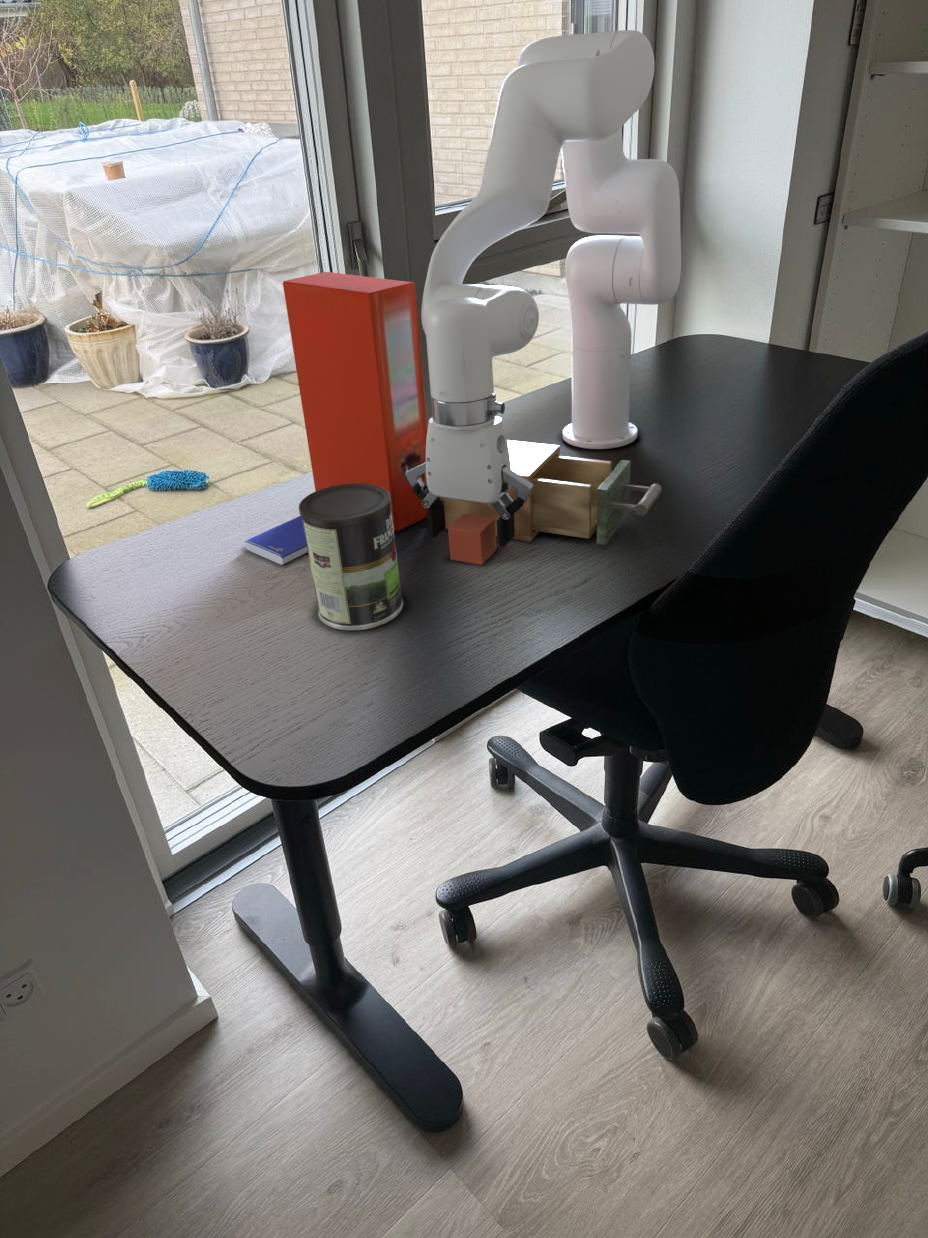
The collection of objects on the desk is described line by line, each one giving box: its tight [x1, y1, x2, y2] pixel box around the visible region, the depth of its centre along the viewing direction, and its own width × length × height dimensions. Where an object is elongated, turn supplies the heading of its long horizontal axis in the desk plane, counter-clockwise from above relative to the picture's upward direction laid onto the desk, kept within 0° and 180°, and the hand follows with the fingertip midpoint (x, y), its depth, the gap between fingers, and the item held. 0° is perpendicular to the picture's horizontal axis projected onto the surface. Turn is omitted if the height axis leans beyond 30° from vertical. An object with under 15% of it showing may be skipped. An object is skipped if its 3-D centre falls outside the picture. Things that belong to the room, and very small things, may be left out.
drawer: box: [530, 455, 663, 546], centre depth 116 cm, size 19×10×8 cm, turn 64°
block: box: [447, 514, 498, 566], centre depth 113 cm, size 5×5×5 cm
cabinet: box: [425, 439, 561, 542], centre depth 121 cm, size 15×11×9 cm
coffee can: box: [298, 483, 404, 632], centre depth 101 cm, size 10×10×14 cm
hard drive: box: [244, 515, 308, 566], centre depth 121 cm, size 2×8×12 cm
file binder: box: [282, 271, 428, 532], centre depth 121 cm, size 8×17×32 cm, turn 47°
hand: (471, 538), depth 113 cm, fingers open, 9 cm apart
